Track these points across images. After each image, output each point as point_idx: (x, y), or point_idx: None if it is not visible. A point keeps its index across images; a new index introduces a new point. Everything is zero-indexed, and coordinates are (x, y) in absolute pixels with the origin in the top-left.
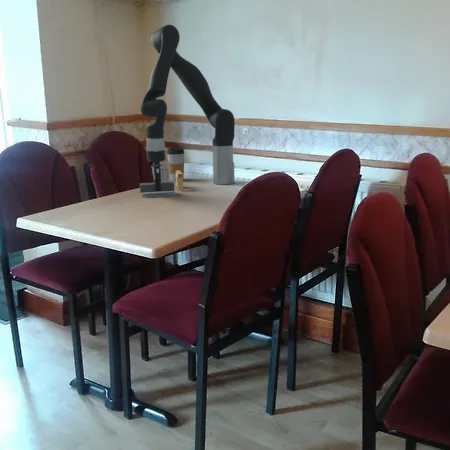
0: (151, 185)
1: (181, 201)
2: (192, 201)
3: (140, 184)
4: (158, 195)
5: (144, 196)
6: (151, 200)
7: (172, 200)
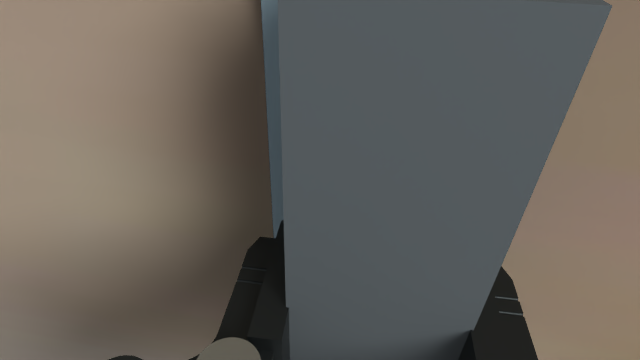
0: (286, 240)
1: (8, 309)
2: (20, 356)
3: (381, 10)
4: (273, 203)
5: (262, 10)
6: (11, 80)
7: (40, 267)
